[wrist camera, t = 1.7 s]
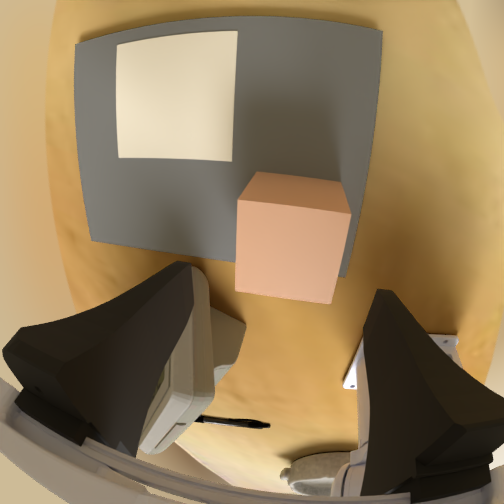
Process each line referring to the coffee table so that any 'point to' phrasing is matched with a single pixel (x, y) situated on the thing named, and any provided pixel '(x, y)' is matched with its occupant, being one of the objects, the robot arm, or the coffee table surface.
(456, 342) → the robot arm
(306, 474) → the dish
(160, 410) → the digital clock
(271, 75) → the mat
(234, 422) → the pen
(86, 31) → the coffee table surface
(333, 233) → the block
